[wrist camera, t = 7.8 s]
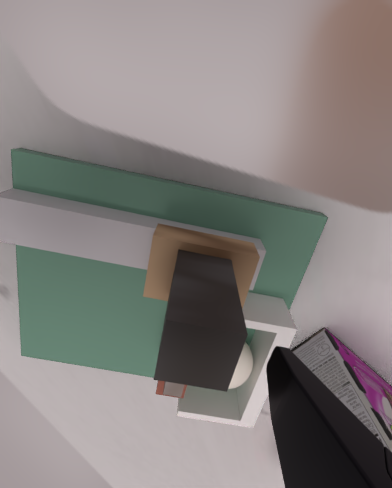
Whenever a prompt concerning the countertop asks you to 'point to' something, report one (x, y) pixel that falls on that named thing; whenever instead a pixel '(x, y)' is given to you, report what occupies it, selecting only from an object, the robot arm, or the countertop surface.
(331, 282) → the countertop surface
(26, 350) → the board
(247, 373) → the ball
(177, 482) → the countertop surface
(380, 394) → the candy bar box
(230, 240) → the multicolored block structure
